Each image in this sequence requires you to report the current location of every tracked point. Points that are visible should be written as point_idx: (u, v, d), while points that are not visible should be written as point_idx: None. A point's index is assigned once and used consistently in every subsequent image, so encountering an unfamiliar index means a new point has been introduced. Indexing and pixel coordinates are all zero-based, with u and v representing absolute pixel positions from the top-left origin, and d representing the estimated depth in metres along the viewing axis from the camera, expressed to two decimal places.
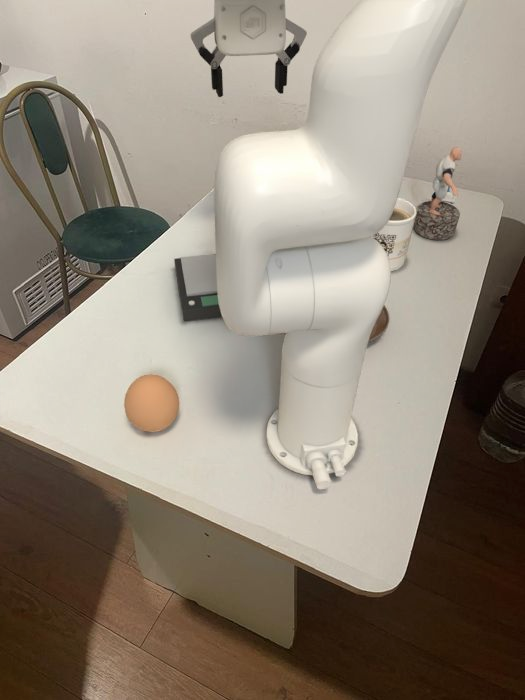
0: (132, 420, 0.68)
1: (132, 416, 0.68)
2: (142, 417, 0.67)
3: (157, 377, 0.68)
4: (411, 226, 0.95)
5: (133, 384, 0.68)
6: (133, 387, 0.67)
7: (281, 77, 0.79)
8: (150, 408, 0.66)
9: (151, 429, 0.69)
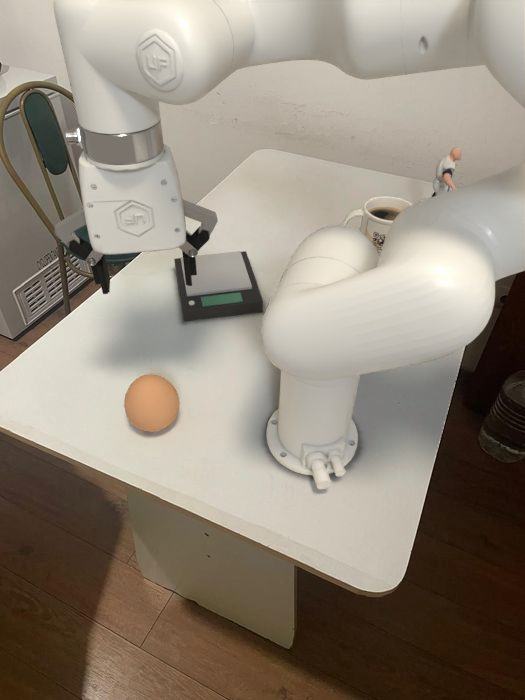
0: (132, 420, 0.68)
1: (132, 416, 0.68)
2: (142, 417, 0.67)
3: (157, 377, 0.68)
4: None
5: (133, 384, 0.68)
6: (133, 387, 0.67)
7: (187, 270, 0.59)
8: (149, 408, 0.66)
9: (151, 429, 0.69)
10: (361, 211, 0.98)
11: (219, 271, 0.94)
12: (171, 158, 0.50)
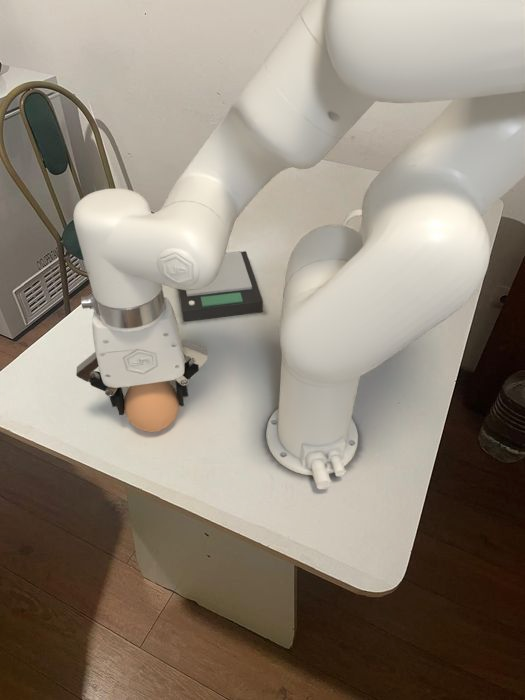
0: (132, 420, 0.68)
1: (132, 416, 0.68)
2: (142, 417, 0.67)
3: None
4: None
5: None
6: (133, 387, 0.67)
7: (179, 395, 0.68)
8: (149, 408, 0.66)
9: (151, 429, 0.69)
10: (361, 211, 0.98)
11: (219, 271, 0.94)
12: (171, 314, 0.59)
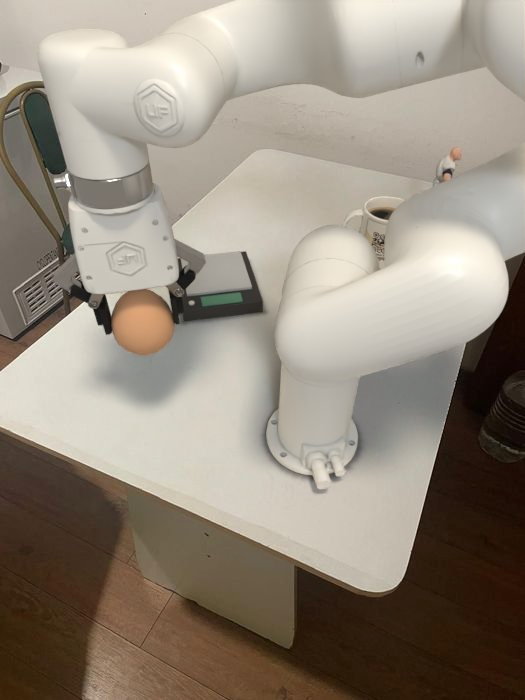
0: (120, 340, 0.59)
1: (120, 335, 0.59)
2: (131, 334, 0.58)
3: (148, 290, 0.60)
4: None
5: (120, 298, 0.59)
6: (120, 300, 0.59)
7: (174, 309, 0.59)
8: (140, 323, 0.58)
9: (142, 350, 0.60)
10: (361, 211, 0.98)
11: (219, 271, 0.94)
12: (161, 198, 0.50)
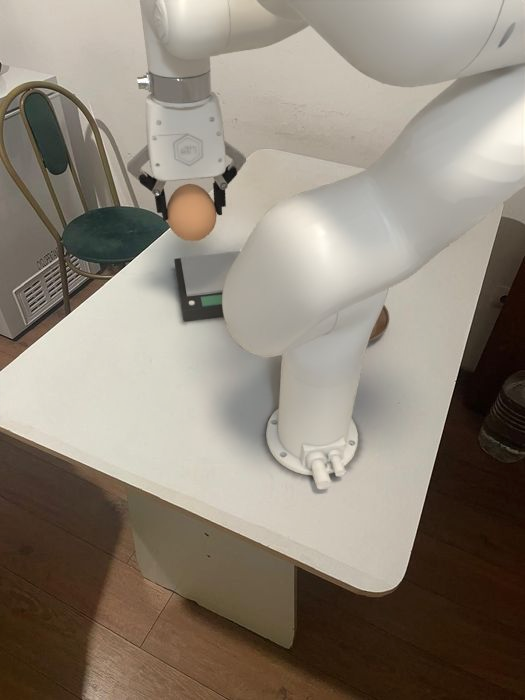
0: (175, 224, 0.74)
1: (175, 220, 0.74)
2: (185, 218, 0.73)
3: (197, 185, 0.74)
4: None
5: (176, 190, 0.74)
6: (176, 191, 0.73)
7: (219, 201, 0.74)
8: (192, 209, 0.72)
9: (192, 234, 0.75)
10: None
11: (219, 271, 0.94)
12: (217, 100, 0.65)
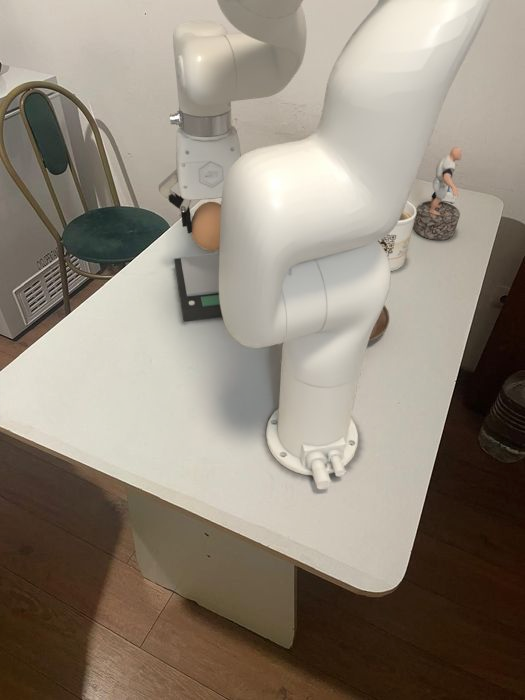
0: (198, 236, 0.86)
1: (198, 232, 0.86)
2: (207, 231, 0.85)
3: (217, 203, 0.86)
4: (411, 226, 0.95)
5: (199, 207, 0.86)
6: (199, 208, 0.85)
7: None
8: (213, 223, 0.84)
9: (213, 244, 0.87)
10: None
11: None
12: (236, 133, 0.77)
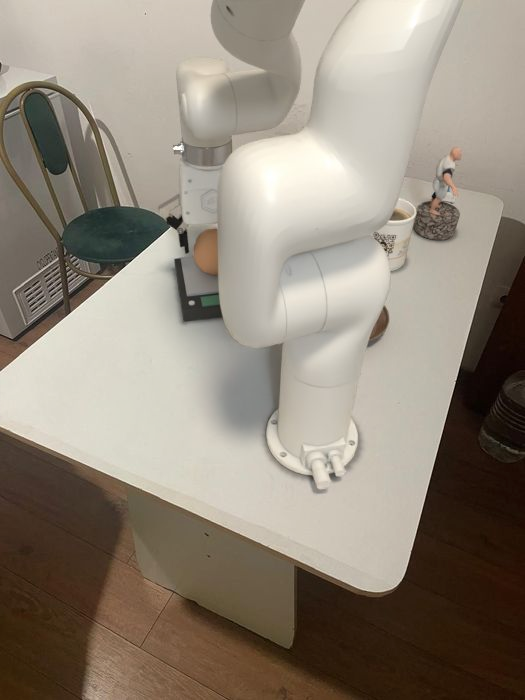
0: (200, 262, 0.89)
1: (200, 258, 0.89)
2: (209, 257, 0.88)
3: None
4: (411, 226, 0.95)
5: (201, 234, 0.89)
6: (202, 235, 0.89)
7: None
8: (215, 250, 0.88)
9: (214, 269, 0.90)
10: None
11: None
12: None
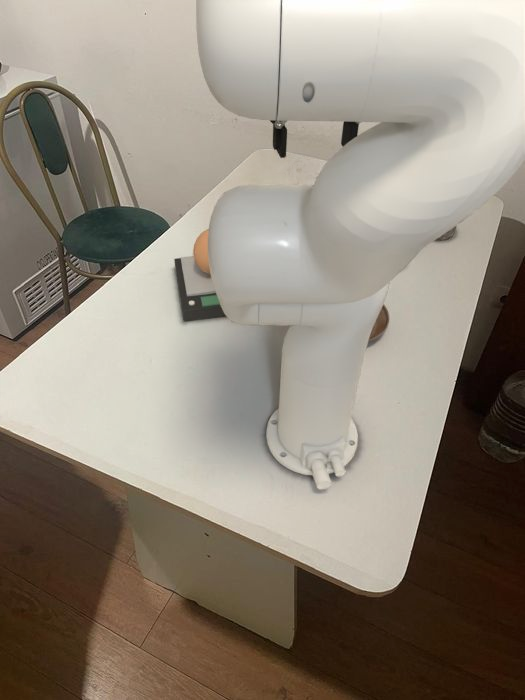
0: (200, 262, 0.89)
1: (200, 258, 0.89)
2: None
3: None
4: None
5: (201, 234, 0.89)
6: (202, 235, 0.89)
7: (352, 136, 0.70)
8: None
9: None
10: None
11: None
12: None
